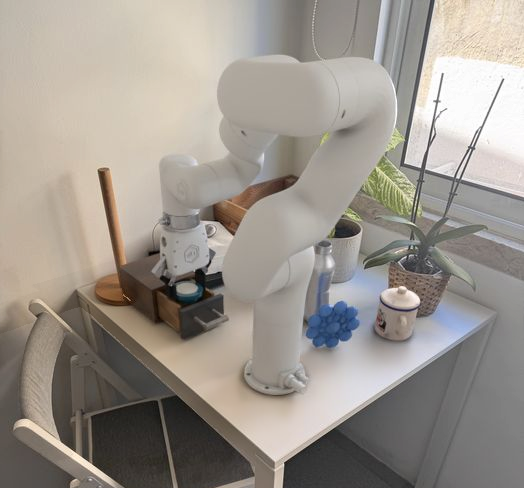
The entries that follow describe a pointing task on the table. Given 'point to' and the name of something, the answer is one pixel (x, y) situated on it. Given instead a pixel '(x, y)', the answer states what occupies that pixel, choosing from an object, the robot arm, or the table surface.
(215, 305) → the drawer
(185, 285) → the teal white round disc
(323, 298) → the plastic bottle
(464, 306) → the table surface
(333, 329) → the blue knobbly flower
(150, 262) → the cabinet
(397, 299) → the teacup with lid
